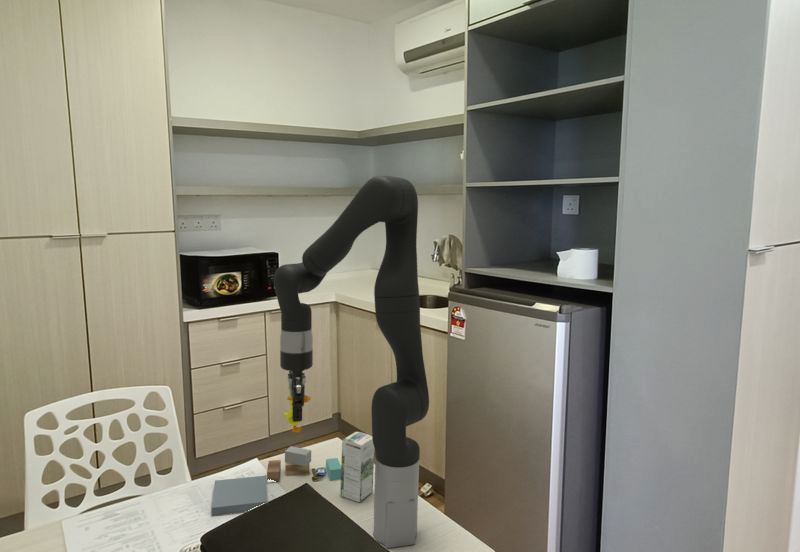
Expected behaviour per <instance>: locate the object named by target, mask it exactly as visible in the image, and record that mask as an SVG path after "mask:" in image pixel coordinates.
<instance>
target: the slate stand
mask: <svg viewBox="0 0 800 552" xmlns="http://www.w3.org/2000/svg"><path fill="white" fill-rule="evenodd" d="M267 487H268V486H267V474H266V475H256V476H246V477H237V478H228V479H219V480H217V479H216V480H214V486H213V493H212V501H211V517H216V516H217V517H218V516H225V515H234V514H233V513H235V514H242V512H243V513H246V512H245V511H248V510H250V509H252V508H254V507H256V506H259V505H261V504H263V503H266V502H267V503H268V488H267ZM231 513H232V514H231Z"/></svg>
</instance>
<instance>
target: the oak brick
mask: <svg viewBox="0 0 800 552" xmlns="http://www.w3.org/2000/svg"><path fill="white" fill-rule="evenodd" d="M284 462H285V461H284ZM284 467H285V468H284V469H285V471H284V473H285V476H286V477H288V476H300V475H309V474H310V463H309V464H308V465H306V466H301V465H297V464H292V463H287V462H285V466H284Z"/></svg>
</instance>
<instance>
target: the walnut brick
mask: <svg viewBox="0 0 800 552" xmlns="http://www.w3.org/2000/svg"><path fill="white" fill-rule="evenodd" d="M281 463H282V462H281V459H276V460H274V459H273V460H268V464H267V468H266V469H267V470H266V481H267V480H268V479H269V480H270V479H271V480H274V481H276V482H275V483H280V478H281V472H282V471H281V470H282V469H281V466H282V465H281Z"/></svg>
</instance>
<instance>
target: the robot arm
mask: <svg viewBox="0 0 800 552" xmlns="http://www.w3.org/2000/svg"><path fill="white" fill-rule="evenodd" d="M418 213H419V201H418V193H417V190H416V188H415V186H414V184H413V183H412V182H411V181H410V180H408V179H406V178H403V177H397V176H389V175H376V176H372V177H371V178H370V179H368V180H367V181H366V182H365V183H364V184H363V185H362V186H361V187H360V189H359V190H358V191H357V193H356V194H355V196H353V198H352V200H351V201H350V202H349V203H348V205H347V206H346V207H345V209H344V210H343V211H342V212H341V213H340V215H339V216H338V218H336V220H335V221H334V222H333V224H331V226H330V227H328V229H327V230H326V231H325V232H323V234H321V235H320V236H319V237H318V238H317V239H316V240H315V241H314V242H313V243H312V244H310V245H309V246H308V247H307V248H306V249H305V250H304V252H303V254H302V256H301V261H302V262H298V263H289V264H288V263H287V264H283V265H280V266H279V267H278V268H277V269H276V271H275V273H274V275H273V287H274V292H275V295H276V299H277V303H278V307H279V309H280V314H281V315H280V323H281V324H280V326H281V327H280V329H281V330H280V339H279V340H280V341H279V344H280V345H279V346H280V348H279V349H280V350H279V351H280V355H279V356H280V357H279V358H280V359H279V361H280V362H279V363H280V364H279V365H280V368H281V369H283V371H288V373H287V383H288V388H289V387H290V396H291V397H292V409H293V421H294V422H299V423H300V422H302V421H303V407H304V405H305V402H304V395H305V394H306V385H305V384H306V382H307V381H306V380H307V379H306V375H305V372H304V371H307V370H309V369H311V368H312V367H313V365H314V364H313V362H314V361H313V359H314V358H313V357H314V356H313V355H314V354H313V353H314V352H313V350H314V349H313V348H314V347H313V343H314V342H313V341H314V339H313V330H312V328H313V327H312V326H313V325H312V324H313V323H312V322H313V321H312V319H313V318H312V315H313V314H312V307H311V305H309V304H307V303H303V302H301V300H300V296H299V294H303V293H309V292H311V291H313V290H315V289H317V288H318V287H319V285H320V284H321V283H322V281H323V280H324V278H325V277H326V276H327V273H328V272H329V271H331V270H333V269H334V268H335V267H336V266H337V265H338V264H340V263H341V262H342V261H343V260H344V259H345V258H346V257H347V256H348V254H350V251H351V249H352V248H353V246H354V243H355V241H356V239H357V238H358V237H359V236H360V235H361V234H362V233H364V231H366V230H367V229H369V228H370V227H373V226H374V225H376V224H377V223H384V226H385V249H384V250H385V251H384V254H383V258H382V260H381V264H380V267H379V270H378V272H377V275H376V279H375V283H374V289H373V290H374V293H373V295H374V311H375V319H376V322H377V326H378V328H379V330H380V332H381V334H382V336H384V338H385V340H386V341H387V343H388V344H389V346H390V348H391V350H392V352H393V356H394V359H395V368H396V381H394V382H392V383H389V384H385V385H382V386H380V387H378V388H377V389H376V390H375V391H374V394H373V396H372V399H371V436H372V440H373V444H374V453H375V454H374V466H375V467H374V492H373V493H374V495H373V496H374V497H373V498H374V499H373V500H374V501H373V503H374V504H373V537H374V538H375V540H376V541H377V542H378V543H379V544H382V545H384V547H385V548H386V549H390V548H392V549H393V548H397V547H405V546H411V545H415V544H416V538H417V534H418V531H417V530H418V511H419V509H418V507H419V503H418V502H419V501H418V500H419V482H420V481H419V478H420V477H419V476H420V474H419V473H420V456H421V453H420V452H421V449H420V448H421V447H420V445H419V443H418V442H417V441H416V440H415V439H413V438H410V437H408V436H407V427H408V426H411V425H414V424H416V423H418V422H420V421H422V420H423V419H424V418H425V417H426V416H427V414H428V412H429V407H430V394H429V387H428V386H429V385H428V382H427V374H426V369H425V361H424V354H423V352H424V351H423V344H422V343H423V342H422V341H423V340H422V330H421V304H420V303H421V301H420V287H419V279H418V277H419V274H418V273H419V272H418V253H417V248H418V247H417V238H418V237H417V235H418V215H419V214H418ZM292 390H293V392H292ZM296 399H301V401H295V400H296Z"/></svg>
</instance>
